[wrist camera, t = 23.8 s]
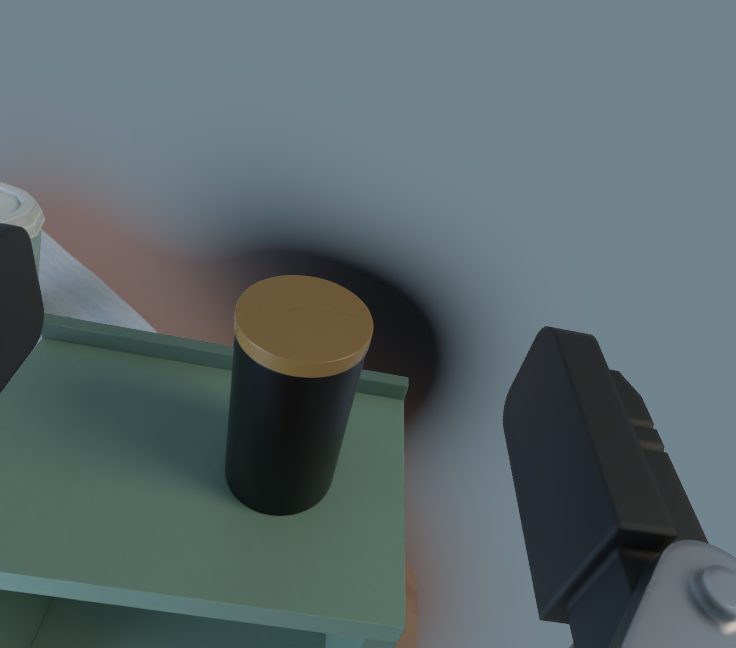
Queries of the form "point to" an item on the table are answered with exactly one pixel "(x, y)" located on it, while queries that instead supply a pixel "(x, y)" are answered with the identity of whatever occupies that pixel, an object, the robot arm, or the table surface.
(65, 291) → the table surface
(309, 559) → the shelf
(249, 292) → the black tea tin
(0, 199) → the disposable coffee cup
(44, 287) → the table surface
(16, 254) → the robot arm
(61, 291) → the table surface
